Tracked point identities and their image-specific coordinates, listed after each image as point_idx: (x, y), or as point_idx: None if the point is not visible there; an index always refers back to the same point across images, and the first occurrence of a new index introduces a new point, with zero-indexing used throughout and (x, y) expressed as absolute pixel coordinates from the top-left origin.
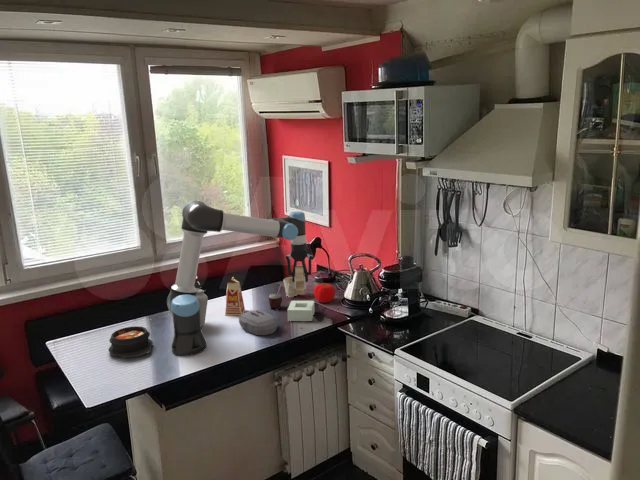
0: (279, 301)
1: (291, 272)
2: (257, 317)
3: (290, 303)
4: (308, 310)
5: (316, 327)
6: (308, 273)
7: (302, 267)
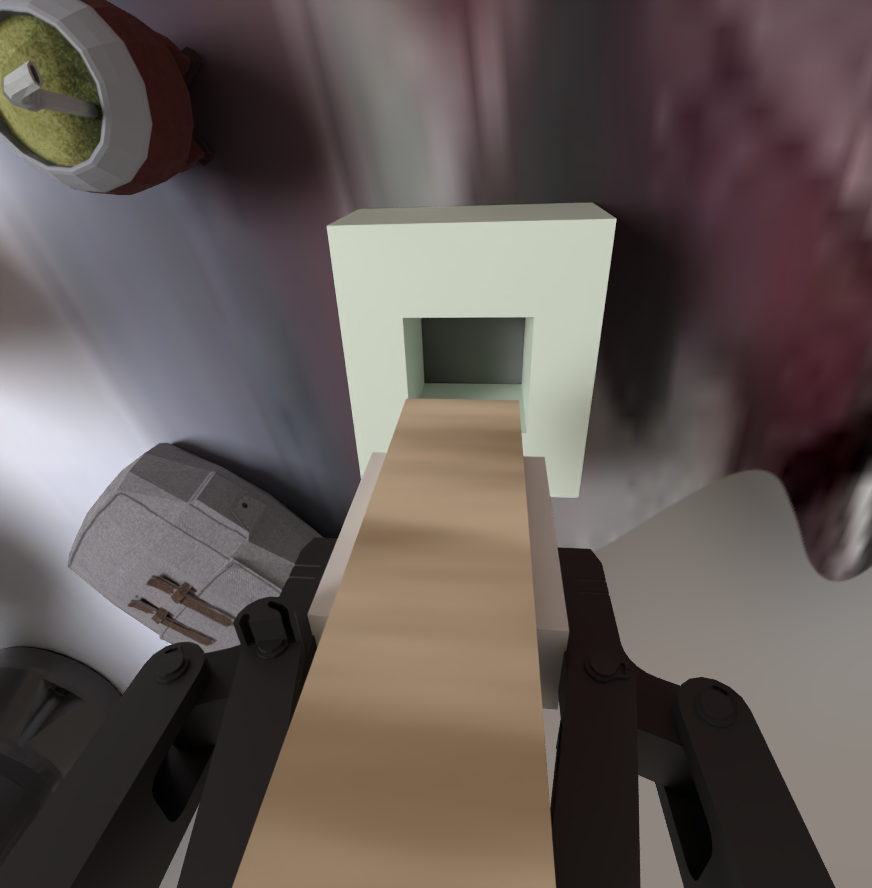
0: (175, 161)
1: (215, 718)
2: (214, 650)
3: (343, 325)
4: (551, 495)
5: (600, 529)
6: (653, 763)
7: None
